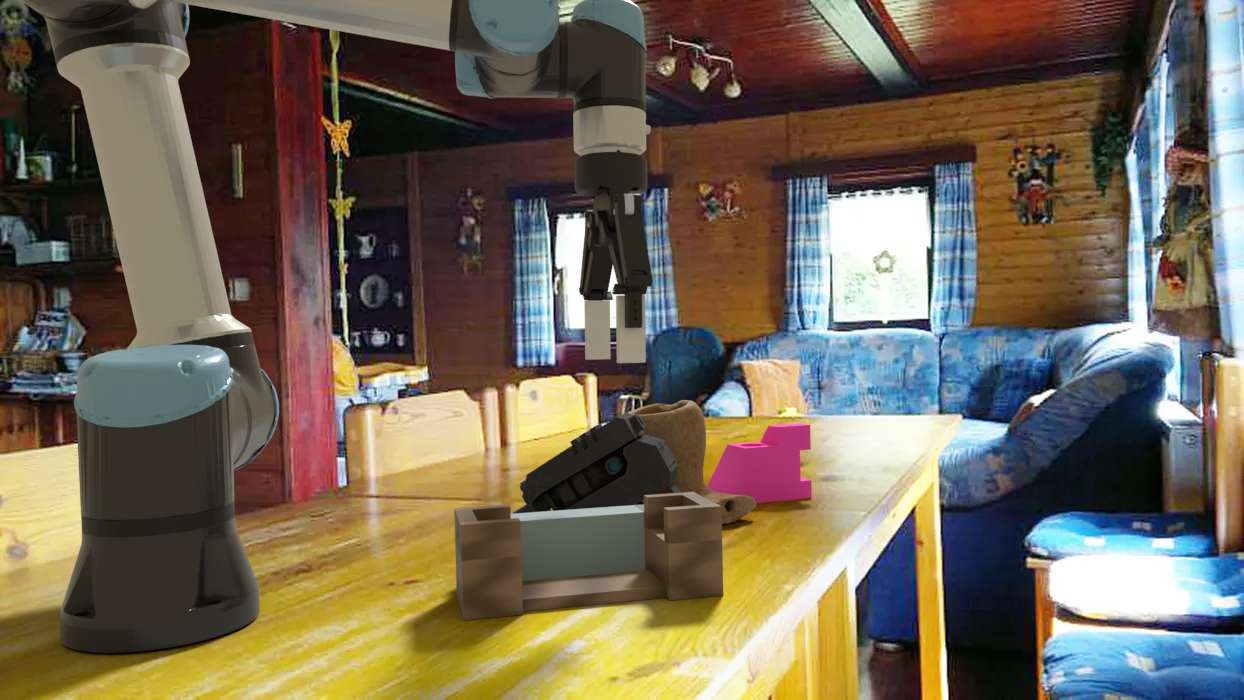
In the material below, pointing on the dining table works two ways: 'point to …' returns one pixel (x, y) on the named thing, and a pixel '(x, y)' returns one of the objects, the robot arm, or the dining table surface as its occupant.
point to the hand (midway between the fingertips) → (613, 361)
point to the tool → (602, 470)
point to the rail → (582, 542)
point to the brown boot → (690, 452)
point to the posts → (675, 569)
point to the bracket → (765, 466)
